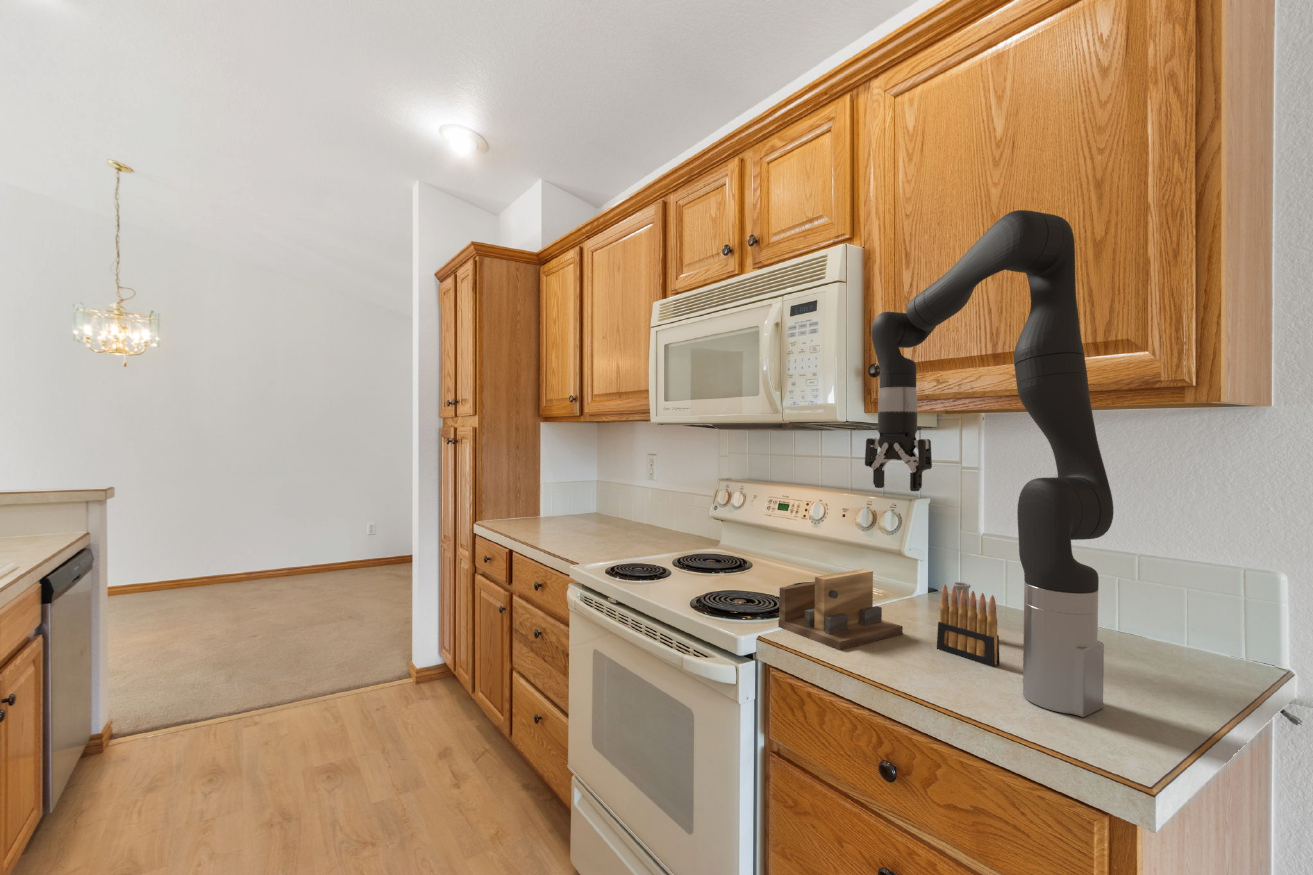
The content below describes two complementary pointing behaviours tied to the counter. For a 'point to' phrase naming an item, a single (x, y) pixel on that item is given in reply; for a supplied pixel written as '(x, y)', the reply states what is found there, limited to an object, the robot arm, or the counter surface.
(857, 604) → the door
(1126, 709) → the counter surface
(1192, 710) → the counter surface
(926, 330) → the robot arm
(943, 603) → the ammunition clip
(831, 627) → the brown wooden base
